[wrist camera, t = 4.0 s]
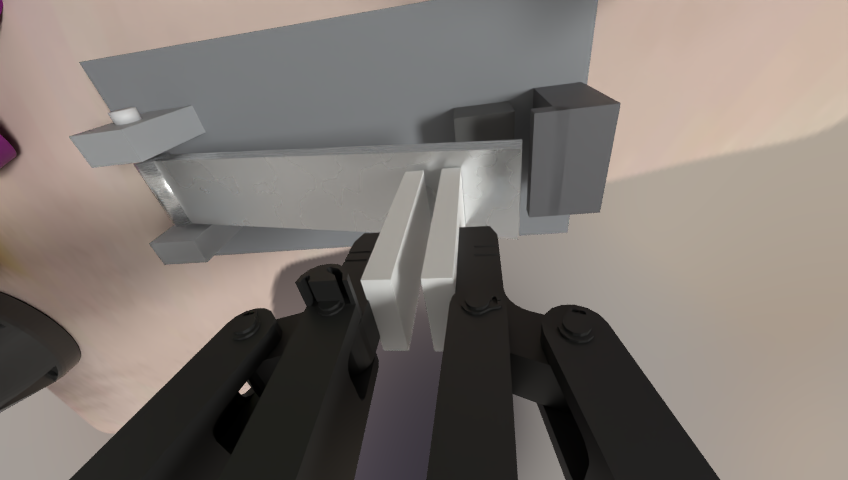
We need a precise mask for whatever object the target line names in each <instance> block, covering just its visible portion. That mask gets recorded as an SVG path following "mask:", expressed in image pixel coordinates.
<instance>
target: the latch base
mask: <svg viewBox="0 0 848 480" xmlns="http://www.w3.org/2000/svg"><path fill="white" fill-rule="evenodd" d="M597 4H598V0H431V1H426V2H420V3H414V4H408V5H403V6H397V7H391V8H386V9H380V10H374V11H369V12H363V13H357V14H351V15H346V16H340V17H334V18H329V19H323V20H317V21H312V22H306V23H300V24H294V25H289V26H283V27H277V28H272V29H266V30H260V31H255V32H249V33H243V34H237V35H232V36H226V37H220V38H215V39H209V40H203V41H198V42H192V43H186V44H181V45H175V46H169V47H163V48H158V49H152V50H146V51H141V52H135V53H129V54H124V55H118V56H112V57H106V58H101V59H95V60H89V61H84V62H79V63H80V64H81V66H82V67H83V69H84V71H85V72H86V74H87V75H88V77H89V78H90V80H91V81H92V83H93V84H94V86H95V87H96V89H97V91H98V92H99V94H100V95H101V97H102V98H103V100H104V101H105V103H106V104H107V106H108V108H109V109H110V111H111V112H109V113H108V114H109V116H110V118H111V119H112V121H113V122H114V123H111V124H107V125H104V126H101V127H98V128H95V129H92V130H88V131H85V132H82V133H79V134H76V135H73V136H69V138H70V139H71V140H72V142H73V143H74V144H75V146H76V147H77V148H78V150H79V151H80V152H81V154H82V155H83V156H84V158H85V159H86V160H87V162H88V163H89V164H90V166H91V167H92V168H94V167H103V166H111V165H120V164H128V163H137V162H143V161H145V160H147V159H149V158H152V157H154V156H156V155H158V154H160V153H164V152H169V153H170V154H192V153H215V152H238V151H262V150H285V149H309V148H332V147H356V146H379V145H402V144H426V143H449V142H473V141H496V140H520V139H522V169H521V200H520V228H519V236H521V235H535V234H552V233H566V232H568V224H569V217H570V215H571V214H584V213H597V212H600V209H601V204H602V198H603V193H604V188H605V183H606V177H607V172H608V167H609V162H610V156H611V151H612V146H613V141H614V135H615V130H616V125H617V120H618V114H619V109H620V104H621V103H619V102H617V101H615V100H614V99H612V98H610V97H608V96H606V95H604V94H603V93H601V92H599V91H597V90H595V89H593V88H592V87H590V86H588V85H587V80H588V72H589V65H590V57H591V50H592V42H593V34H594V27H595V19H596V12H597ZM364 233H377V232H357V231H336V230H316V229H296V228H275V227H255V226H235V225H214V224H194V223H192V224H189V225H186V226H175V225H174V226H172V227H171V228H169V229H168V230H167V231H165V232H164V233H163V234H161V235H160V236H159V237H157V238H156V239H155V240H153V241H152V242H151V243H149V244H150V246H151V247H152V248H153V250H154V251H155V252H156V254H157V255H158V256H159V258H160V259H161V260H162V262H163V263H164V264H165V265H166V264H183V263H199V262H208V261H209V260H210V259H211V258H212V257H213V256H214V255H229V254H244V253H260V252H275V251H290V250H306V249H321V248H337V247H352V246H353V244H354V242H355V241H356V240H357V239H358V238H359V237H361V236H362V235H363V234H364Z"/></svg>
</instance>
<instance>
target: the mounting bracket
mask: <svg viewBox="0 0 848 480" xmlns="http://www.w3.org/2000/svg"><path fill="white" fill-rule="evenodd" d="M2 7H3V2H2V0H0V14H1V11H2ZM16 155H17V154H16V151H15V149H14V148H13V147H12V145H11V144H10V143H9V142H8V141H7V140H6V139H5V138H4V137H3V136H1V135H0V168H1V167H3V166H4V165H5V164H7V163H8V162H9V161H11V160H12V159H13V158H15V157H16Z"/></svg>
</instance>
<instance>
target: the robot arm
mask: <svg viewBox="0 0 848 480" xmlns="http://www.w3.org/2000/svg"><path fill="white" fill-rule="evenodd" d="M295 283H296V285H297V287H298V289H299V291H300V293H301V296H302V298H303V300H304V301H305V304H306V306H307V307H306V309H305V311H304V312H302V313H299V314H295V315H291V316H287V317H284V318H280V319H275V317H274V315H273V314H272V312H271V311H269V310H267V309H265V308H256V309H253V310H249V311H246V312H244V313H242V314H240V315H238V316H236V317H235V318H234V319H232V320H231V321H230V322H228V323H227V324H226V325H225V326H224V327H223V328H222V329H221V330H220V331H219V332H218V333H217V334H216V335H215V336H214V337H213V338H212V339H211V340H210V341H209V342H208V343H207V344H206V345H205V346H204V347H203V348H202V349H201V350H200V351H199V352H198V353H197V354H196V355H195V356H194V357H193V358H192V359H191V360H190V361H189V362H188V363H187V364H186V365H185V366H184V367H183V368H182V369H181V370H180V371H179V372H178V373H177V374H176V375H175V376H174V377H173V378H172V379H171V380H170V381H169V382H168V383H167V384H166V385H165V386H164V387H162V388H161V389H160V390H159V391H158V392H157V393H156V394H155V395H154V396H153V397H152V398H151V399H150V400H149V401H148V402H147V403H146V404H145V405H144V406H143V407H142V408H141V409H140V410H139V411H138V412H137V413H136V414H135V415H134V416H133V417H132V418H131V419H130V420H129V421H128V422H127V423H126V424H125V425H124V426H123V427H122V428H121V429H120V430H119V431H118V432H117V433H116V434H115V435H114V436H113V437H112V438H111V439H110V440H109V441H108V442H107V443H106V444H105V445H104V446H103V447H102V448H101V449H100V450H99V451H98V452H97V453H96V454H95V455H94V456H93V457H92V458H91V459H90V460H89V461H88V462H87V463H86V464H85V465H84V466H83V467H82V468H81V469H80V470H79V471H78V472H77V473H76V474H75V475H74V476H73V477H72V478H71V479H70V480H354V478H355V473H356V469H357V464H358V460H359V455H360V450H361V446H362V441H363V437H364V432H365V427H366V423H367V418H368V414H369V409H370V405H371V400H372V395H373V391H374V386H375V381H376V377H377V373H378V368H379V360H378V357H377V354H376V349H377V346H378V342H379V339H380V341H381V344H382V347H383V350H392V351H393V350H394V351H398V350H399V351H409V347H410V342H411V337H412V331H413V326H414V321H415V315H416V309H417V304H418V299H419V294H420V287H421V283H422V288H423V294H424V299H425V304H426V309H427V315H428V320H429V325H430V330H431V336H432V341H433V347H434V351H443V357H442V364H441V372H440V380H439V387H438V395H437V403H436V410H435V418H434V426H433V434H432V441H431V449H430V456H429V464H428V472H427V479H426V480H518V475H517V461H516V460H517V459H516V444H515V428H514V412H513V396H512V394H515V395H517V396H520V397H523V398H526V399H528V400H531V401H534V402H536V403H537V405H538V407H539V410H540V413H541V416H542V418H543V421H544V424H545V426H546V429H547V432H548V434H549V437H550V440H551V442H552V445H553V447H554V450H555V453H556V455H557V458H558V461H559V463H560V466H561V468H562V471H563V474H564V476H565V479H566V480H720V479H719V477H718V476H717V475H716V473H715V472H714V471H713V469H712V468H711V466H710V465H709V464H708V462H707V461H706V459H705V458H704V456H703V455H702V454H701V453H700V451H699V450H698V448H697V447H696V445H695V444H694V443H693V441H692V440H691V438H690V437H689V436H688V434H687V433H686V432H685V430H684V429H683V427H682V426H681V424H680V423H679V422H678V420H677V419H676V417H675V416H674V415H673V413H672V412H671V410H670V409H669V408H668V406H667V405H666V403H665V402H664V401H663V400H662V398H661V397H660V395H659V394H658V392H657V391H656V390H655V388H654V387H653V385H652V384H651V382H650V381H649V380H648V378H647V377H646V376H645V374H644V373H643V371H642V370H641V369H640V367H639V366H638V365H637V363H636V362H635V360H634V359H633V357H632V356H631V355H630V353H629V352H628V351H627V349H626V348H625V346H624V345H623V343H622V342H621V341H620V339H619V338H618V336H617V335H616V334H615V332H614V331H613V329H612V328H611V327H610V325H609V324H608V323H607V322H606V321H605V320H604V319H603V318H602V317H601V316H600V315H599V314H597V313H596V312H594V311H592V310H590V309H588V308H585V307H581V306H577V305H561V306H557V307H554V308H552V309H551V310H549V311H548V312H547V313H546V314H545V315H543V314H539V313H535V312H531V311H528V310H525V309H522V308H520V307H518V306H517V305H515V304H514V303H512V302H511V301H510V300H509V299H508V297H507V296H506V294H505V292H504V288H503V280H502V271H501V262H500V254H499V244H498V236H497V233H496V232H495V231H494V230H493V229H492V228H491V227H490V226H477V227H465V215H464V202H463V189H462V176H461V167H458V168H446V169H442V171H441V176H440V181H439V186H438V191H437V197H436V202H435V207H434V212H433V217H432V223H431V218H430V211H429V204H428V198H427V191H426V184H425V177H424V170H422V171H410V172H405V174H404V176H403V179H402V181H401V183H400V186H399V188H398V191H397V193H396V196H395V198H394V200H393V203H392V205H391V208H390V210H389V212H388V215H387V217H386V220H385V222H384V225H383V227H382V229H381V232H378V233H364V234H363V235H362V236H361V237H359V238H358V239H357V240H356V241H355V242H354V244H353V246H352V248H351V250H350V251H349V254H348V256H347V257H346V259H345V262H344V263H343V265H342V266H340V265H338V264H326V265H320V266H317V267H315V268H313V269H310V270H309V271H307V272H306V273H304V274H303V275H301V276H300V278H299V279H298V280H297V281H296V282H295ZM80 357H81V355H80V350H79V348H78V346H77V344H76V343H75V341H74V340H73V339H72V337H71V336H70V335H69V334H68V333H67V332H66V331H65V330H64V329H63V328H61V327H60V326H59V325H58V324H57V323H55V322H54V321H53V320H51V319H50V318H48V317H47V316H45V315H44V314H42V313H41V312H39V311H37V310H36V309H34V308H32V307H30V306H29V305H27V304H25V303H23V302H21V301H19V300H17V299H14V298H12V297H10V296H7V295H5V294H2V293H0V412H2V411H4V410H6V409H7V408H9V407H11V406H13V405H15V404H16V403H18V402H20V401H22V400H23V399H25V398H27V397H29V396H31V395H32V394H34V393H36V392H38V391H39V390H41V389H43V388H45V387H46V386H48V385H50V384H52V383H54V382H55V381H57V380H58V379H60V378H61V377H63V376H64V375H65V374H66V373H67V372H68V371H69V370H70V369H71V368H73V367H74V366H75V365H76V364H77V363H78V362H79V360H80ZM246 381H247V383H248V384H249V385H250V386H251V388H250V389H249V390H248V391H247V392H246V393H245V394H242V395H241V394H240V393H239V392H238V391H239V390H240V389H241V388H242V386H243V385H244V384H245V383H246Z"/></svg>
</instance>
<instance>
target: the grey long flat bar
mask: <svg viewBox="0 0 848 480" xmlns="http://www.w3.org/2000/svg"><path fill="white" fill-rule="evenodd" d="M133 164H134V166H135V167H136V169H137V170H138V172H139V173H140V175H141V176H142V178H143V179H144V181H145V182H146V184H147V185H148V187H149V188H150V190H151V191H152V193H153V194H154V196H155V197H156V199H157V200H158V202H159V203H160V204H161V206H162V207H163V209H164V210H165V212H166V213H167V215H168V216H169V218H170V219H171V221H172V222H173V224H174V225H175V226H186V225H189V224H192V223H194V224H214V225H235V226H255V227H275V228H296V229H316V230H336V231H357V232H377V233H378V232H381V229H382V227H383V225H384V222H385V220H386V217H387V215H388V212H389V210H390V208H391V205H392V203H393V200H394V198H395V196H396V193H397V191H398V188H399V186H400V183H401V181H402V179H403V176H404V174H405V172H410V171H422V170H424V177H425V184H426V191H427V198H428V204H429V211H430V218H431V223H432V217H433V212H434V207H435V202H436V197H437V191H438V186H439V181H440V176H441V171H442V169H446V168H458V167H461V176H462V189H463V202H464V215H465V227H477V226H490V227H491V228H492V229H493V230H494V231H495V232H496V233H497V236H498V238H500V239H518V238H519V228H520V200H521V169H522V139H520V140H496V141H473V142H449V143H426V144H402V145H379V146H356V147H332V148H309V149H285V150H262V151H238V152H215V153H192V154H170V153H169V152H164V153H160V154H158V155H156V156H154V157H152V158H149V159H147V160H145V161H143V162H137V163H133Z"/></svg>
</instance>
